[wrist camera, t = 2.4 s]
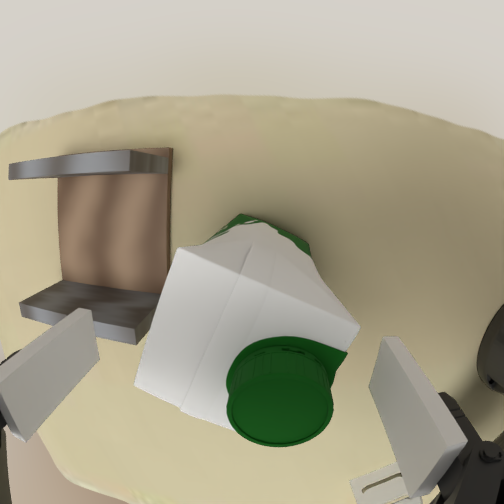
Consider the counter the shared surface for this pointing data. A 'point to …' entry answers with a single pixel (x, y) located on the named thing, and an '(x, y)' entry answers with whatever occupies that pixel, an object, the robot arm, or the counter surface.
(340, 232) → the counter surface
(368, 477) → the grater
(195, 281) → the soya milk
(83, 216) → the carton caddy
